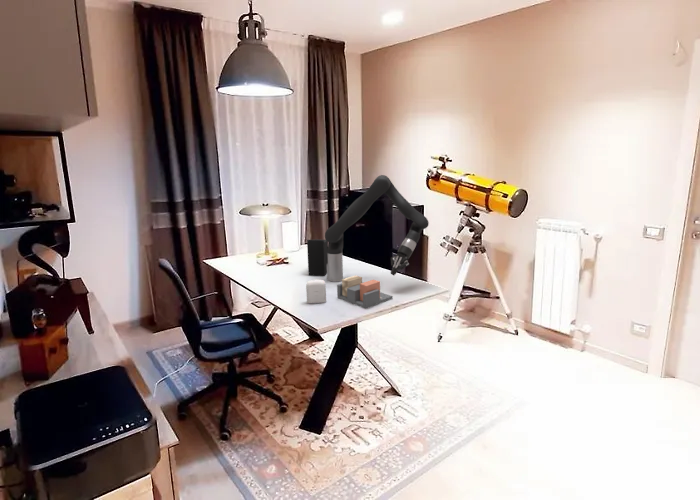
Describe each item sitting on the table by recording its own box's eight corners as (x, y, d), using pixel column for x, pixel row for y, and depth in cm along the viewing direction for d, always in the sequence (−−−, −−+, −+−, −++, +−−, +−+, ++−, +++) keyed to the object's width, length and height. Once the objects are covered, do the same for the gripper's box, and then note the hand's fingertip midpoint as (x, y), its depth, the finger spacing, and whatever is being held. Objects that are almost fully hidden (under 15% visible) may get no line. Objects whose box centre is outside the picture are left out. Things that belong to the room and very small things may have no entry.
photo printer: (306, 304, 224) (305, 281, 220) (306, 301, 228) (305, 279, 225) (326, 303, 224) (325, 280, 221) (326, 300, 229) (325, 278, 226)
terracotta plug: (359, 300, 223) (359, 283, 221) (373, 295, 229) (373, 279, 227) (366, 302, 219) (366, 286, 217) (380, 297, 226) (380, 281, 224)
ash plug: (342, 295, 230) (342, 279, 228) (355, 290, 237) (355, 275, 235) (348, 297, 227) (348, 281, 225) (362, 292, 233) (361, 277, 231)
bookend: (317, 265, 293) (316, 232, 288) (332, 266, 291) (331, 232, 286) (308, 276, 271) (306, 240, 265) (324, 276, 269) (323, 240, 263)
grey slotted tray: (337, 297, 232) (337, 284, 230) (363, 289, 245) (363, 276, 243) (365, 308, 216) (365, 294, 214) (392, 298, 229) (392, 285, 227)
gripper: (395, 242, 241) (380, 268, 238) (412, 247, 232) (397, 274, 228) (401, 248, 246) (387, 274, 243) (419, 253, 237) (404, 280, 233)
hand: (392, 274), depth 235 cm, fingers closed
